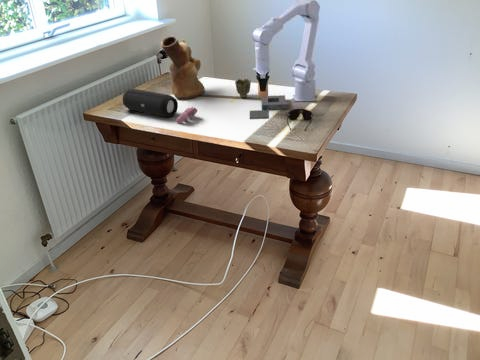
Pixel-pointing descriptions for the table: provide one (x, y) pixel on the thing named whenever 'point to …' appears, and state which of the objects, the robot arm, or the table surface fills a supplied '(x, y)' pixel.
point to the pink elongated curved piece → (186, 115)
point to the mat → (258, 114)
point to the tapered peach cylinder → (263, 94)
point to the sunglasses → (296, 112)
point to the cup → (243, 87)
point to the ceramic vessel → (183, 69)
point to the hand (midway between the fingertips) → (262, 89)
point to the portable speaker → (150, 102)
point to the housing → (274, 103)
